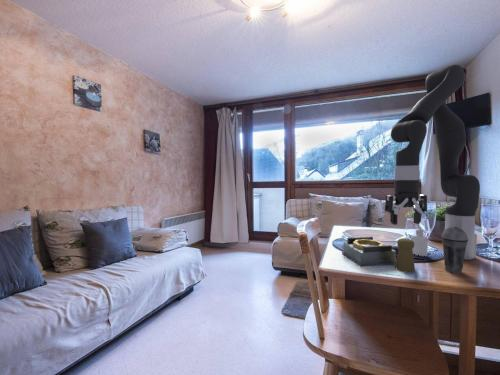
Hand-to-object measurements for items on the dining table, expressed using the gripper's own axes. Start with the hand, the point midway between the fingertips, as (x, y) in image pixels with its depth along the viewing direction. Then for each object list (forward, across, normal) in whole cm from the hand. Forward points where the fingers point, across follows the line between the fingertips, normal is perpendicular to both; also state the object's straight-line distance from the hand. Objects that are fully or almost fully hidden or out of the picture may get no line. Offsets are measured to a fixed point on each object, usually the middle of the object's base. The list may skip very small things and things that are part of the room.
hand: (405, 223), depth 89 cm
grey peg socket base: (+17, +7, -12) cm, 21 cm away
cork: (+17, 0, 0) cm, 17 cm away
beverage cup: (+16, -15, +4) cm, 23 cm away
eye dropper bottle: (+17, -16, -13) cm, 27 cm away
